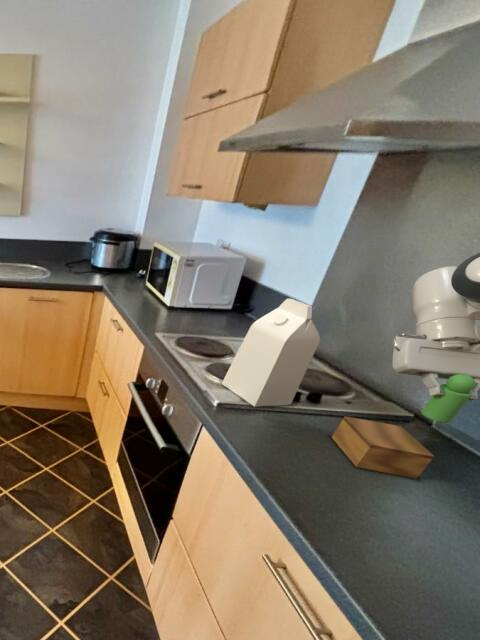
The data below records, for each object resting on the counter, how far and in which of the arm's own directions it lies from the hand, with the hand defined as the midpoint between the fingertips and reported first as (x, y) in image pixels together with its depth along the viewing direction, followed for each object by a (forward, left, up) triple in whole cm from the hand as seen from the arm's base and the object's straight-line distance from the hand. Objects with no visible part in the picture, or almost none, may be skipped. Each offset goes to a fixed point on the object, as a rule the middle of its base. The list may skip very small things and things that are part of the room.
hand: (453, 397), depth 88 cm
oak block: (+12, +7, -14) cm, 20 cm away
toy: (0, -1, -5) cm, 5 cm away
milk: (+29, -15, -14) cm, 36 cm away
